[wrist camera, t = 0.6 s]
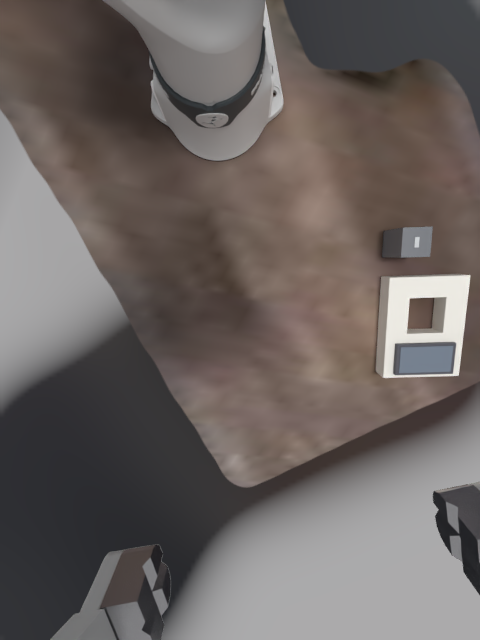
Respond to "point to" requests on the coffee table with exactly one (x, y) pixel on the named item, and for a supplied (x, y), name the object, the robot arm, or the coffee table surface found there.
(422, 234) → the rocker switch
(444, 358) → the switch plate
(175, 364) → the coffee table surface
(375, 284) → the coffee table surface
